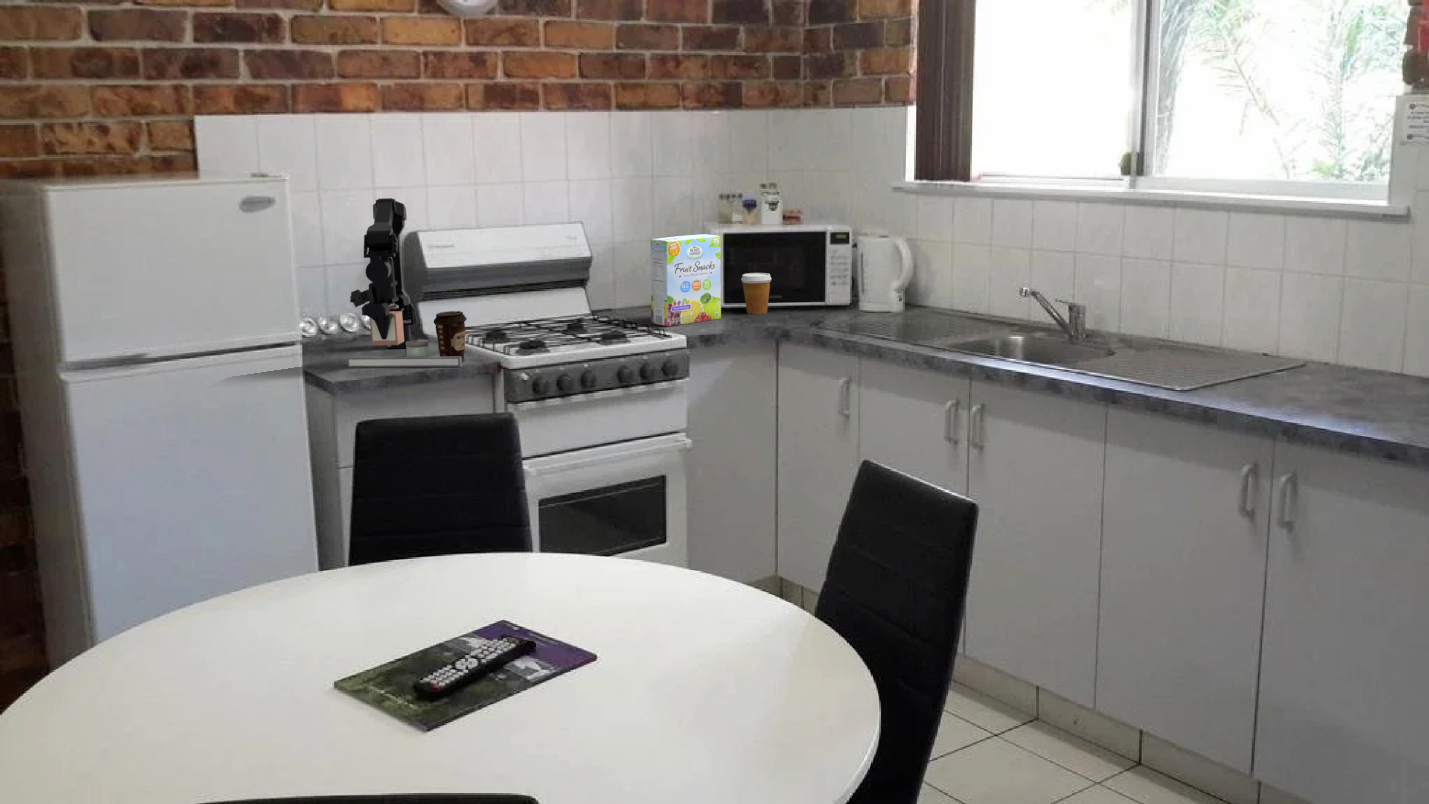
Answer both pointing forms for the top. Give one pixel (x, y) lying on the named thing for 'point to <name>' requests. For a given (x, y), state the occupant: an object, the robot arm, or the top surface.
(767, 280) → the disposable coffee cup
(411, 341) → the spice jar
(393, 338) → the tea box
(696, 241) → the snack box
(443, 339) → the coffee cup
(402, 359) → the rail
